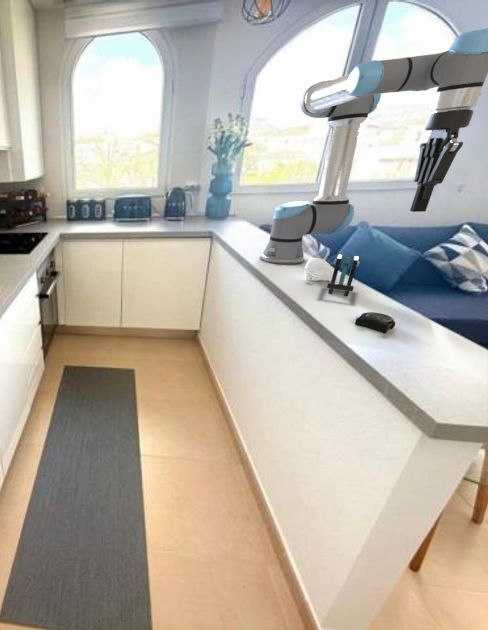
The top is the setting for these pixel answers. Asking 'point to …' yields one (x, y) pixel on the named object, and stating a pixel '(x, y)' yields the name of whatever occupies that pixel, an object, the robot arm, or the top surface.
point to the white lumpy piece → (320, 270)
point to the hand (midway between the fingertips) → (417, 211)
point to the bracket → (353, 268)
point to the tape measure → (375, 321)
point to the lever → (342, 276)
